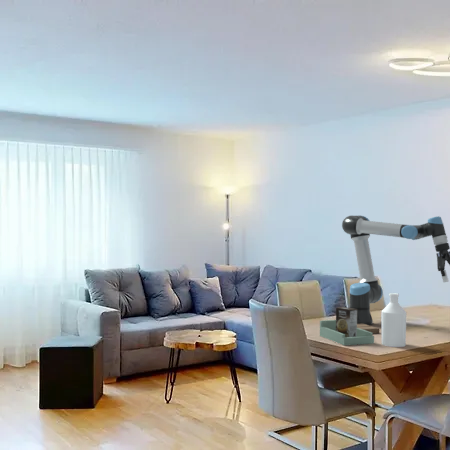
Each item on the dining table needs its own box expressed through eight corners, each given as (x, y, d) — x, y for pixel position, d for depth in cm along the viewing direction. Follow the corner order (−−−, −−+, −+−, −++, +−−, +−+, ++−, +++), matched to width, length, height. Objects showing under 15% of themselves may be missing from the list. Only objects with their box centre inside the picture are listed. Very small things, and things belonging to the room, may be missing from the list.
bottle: (395, 348, 283) (396, 295, 283) (375, 343, 293) (376, 293, 292) (411, 345, 290) (411, 294, 290) (391, 341, 299) (391, 291, 299)
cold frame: (319, 335, 312) (319, 320, 312) (348, 334, 317) (348, 319, 317) (343, 345, 288) (343, 328, 288) (374, 343, 293) (374, 327, 293)
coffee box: (335, 338, 304) (335, 307, 304) (343, 337, 308) (343, 306, 308) (349, 341, 297) (349, 309, 297) (357, 340, 301) (357, 308, 301)
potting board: (338, 329, 330) (338, 325, 330) (363, 328, 335) (363, 323, 335) (353, 334, 315) (353, 330, 315) (379, 333, 320) (379, 328, 320)
